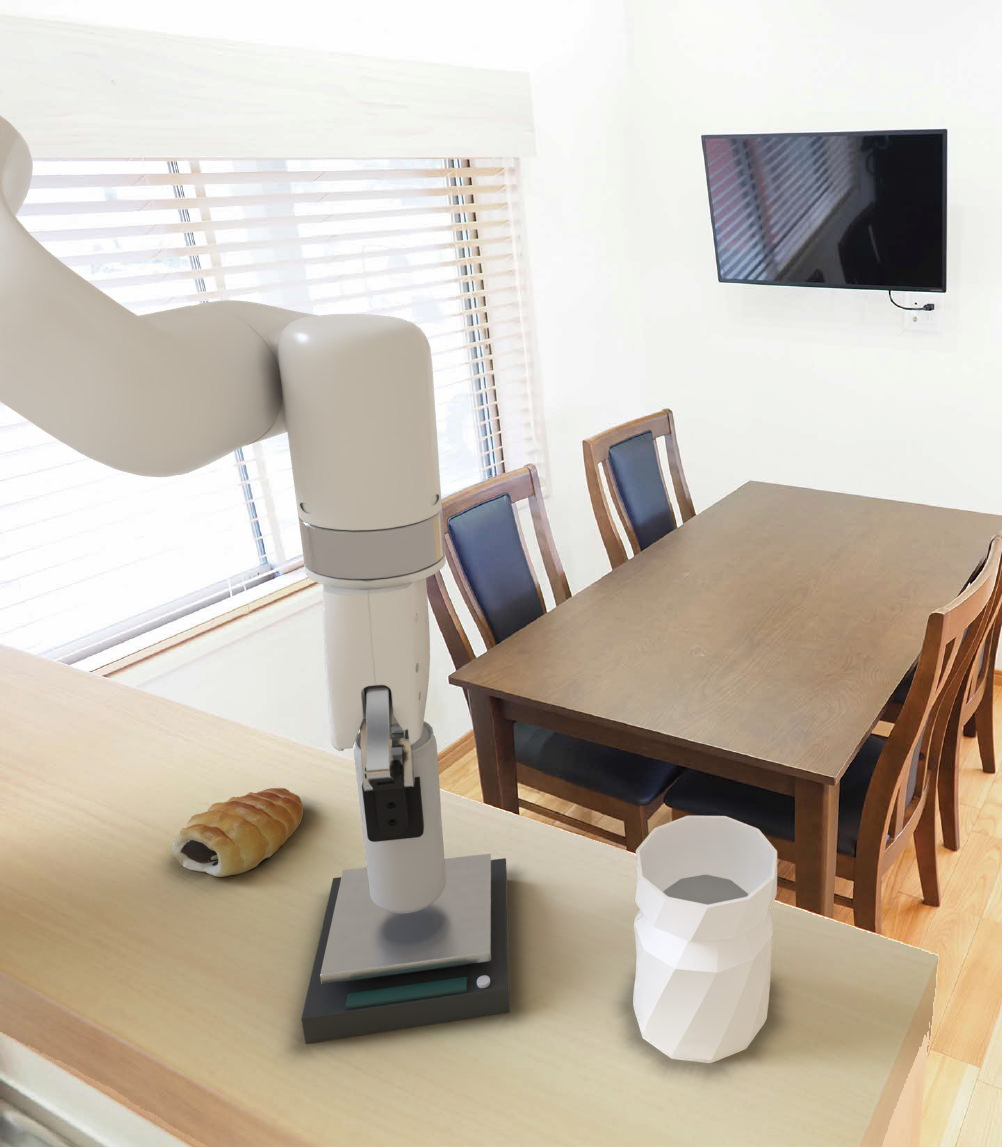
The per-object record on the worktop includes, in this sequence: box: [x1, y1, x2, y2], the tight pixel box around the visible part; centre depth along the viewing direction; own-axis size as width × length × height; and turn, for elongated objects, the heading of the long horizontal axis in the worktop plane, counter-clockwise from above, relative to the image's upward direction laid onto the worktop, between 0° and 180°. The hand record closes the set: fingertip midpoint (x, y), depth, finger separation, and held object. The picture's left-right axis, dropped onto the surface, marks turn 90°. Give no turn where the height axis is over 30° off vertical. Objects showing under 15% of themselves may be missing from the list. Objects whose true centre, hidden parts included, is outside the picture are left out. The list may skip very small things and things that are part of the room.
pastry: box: [170, 787, 304, 878], centre depth 75 cm, size 9×7×4 cm
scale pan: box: [320, 853, 492, 985], centre depth 65 cm, size 10×10×1 cm
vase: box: [632, 815, 778, 1064], centre depth 61 cm, size 9×9×12 cm
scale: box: [300, 857, 511, 1045], centre depth 66 cm, size 12×13×2 cm
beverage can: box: [353, 720, 446, 914], centre depth 62 cm, size 5×5×12 cm
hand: (400, 807), depth 62 cm, fingers closed on beverage can, 4 cm apart
